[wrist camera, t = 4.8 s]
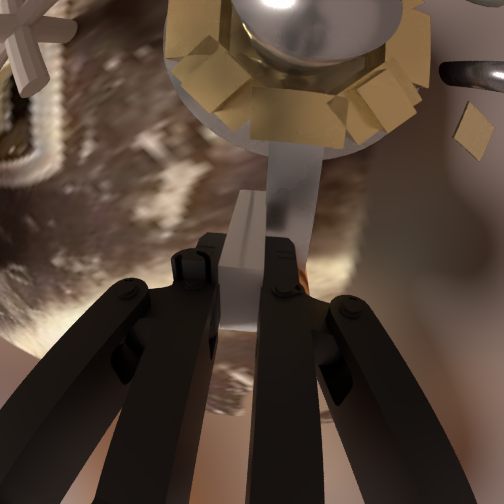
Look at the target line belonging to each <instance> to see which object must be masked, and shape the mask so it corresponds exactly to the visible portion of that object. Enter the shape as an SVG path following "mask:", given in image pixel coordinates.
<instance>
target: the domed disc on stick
mask: <svg viewBox="0 0 504 504" xmlns="http://www.w3.org/2000/svg"><path fill="white" fill-rule="evenodd" d="M423 3H424V1H423V0H403V13H402V19H401V22H400V25H399V27H398V29H397V30H396V32H395V33H394V35H393V36H392V37H391V38H390V39H389V40H388V41H387V42H386V43H385V44H383V45H381V46H380V47H378V48H377V49H374V50H372V51H370V52H368V53H365V67H364V68H363V69H361V70H360V71H358V72H357V73H356V74H354V75H353V76H351V77H350V78H348V79H347V80H345V81H344V82H342V83H341V84H340V85H338V86H337V87H335V88H334V89H333V90H331V91H330V92H328V93H327V94H323V93H316V92H308V91H300V90H290V89H279V88H266V87H265V86H264V85H263V84H262V83H261V82H260V81H259V80H258V79H257V78H256V77H255V76H254V75H253V74H252V73H251V72H250V71H249V70H248V69H247V68H246V67H245V66H244V65H243V64H242V63H241V62H239V61H238V60H237V59H236V58H235V57H234V56H233V55H232V54H231V53H230V34H231V18H232V6H234V5H233V3H232V1H231V0H169V4H168V14H167V26H166V41H165V59H169V60H172V61H176V62H179V63H178V64H177V65H176V66H175V67H174V68H173V70H172V71H171V73H172V74H173V75H174V76H175V77H177V78H178V79H179V80H180V81H181V82H182V84H181V85H180V86H181V87H182V88H183V89H184V90H185V91H186V92H187V93H189V94H190V95H191V96H192V97H193V98H194V99H195V100H196V101H197V102H198V103H199V104H200V105H201V106H202V107H203V108H204V109H205V110H206V111H207V112H208V113H209V114H212V113H215V114H216V115H217V116H218V117H219V118H220V119H221V120H222V121H223V122H224V123H225V124H226V125H227V126H228V127H229V128H230V129H231V130H232V131H233V132H235V131H236V130H237V129H238V128H239V127H241V126H242V125H243V124H244V123H245V122H246V121H248V120H249V119H250V118H251V120H250V140H263V141H270V144H269V158H268V173H267V187H266V201H265V206H266V231H265V236H273V237H285V238H289V239H290V240H291V241H292V242H293V243H294V244H295V250H296V258H297V259H296V260H297V265H298V273H299V281H300V284H301V285H303V286H304V289H305V291H306V294H308V295H309V287H308V279H307V272H306V262H307V257H308V251H309V246H310V240H311V234H312V228H313V222H314V216H315V210H316V203H317V197H318V190H319V183H320V176H321V168H322V161H323V153H324V147H330V148H337V149H343V147H344V139H345V137H346V138H348V139H349V140H351V141H352V142H354V143H355V144H357V145H358V146H359V145H360V144H362V143H363V142H364V141H366V140H367V139H369V138H370V137H371V136H373V135H374V134H375V133H377V132H378V131H383V132H385V133H387V134H388V133H390V132H391V131H392V130H394V129H395V128H396V127H398V126H399V125H401V124H402V123H403V122H405V121H406V120H407V119H409V118H410V117H412V116H413V115H414V114H416V113H417V112H416V110H415V108H414V107H413V106H415V105H416V104H417V103H419V102H420V101H422V99H421V97H420V95H419V94H418V92H417V90H416V89H415V88H429V77H430V58H431V22H430V15H427V14H425V13H423V12H420V11H418V10H416V9H413V8H414V7H416V6H418V5H421V4H423ZM309 296H310V295H309Z"/></svg>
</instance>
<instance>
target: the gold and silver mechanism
mask: <svg viewBox="0 0 504 504" xmlns="http://www.w3.org/2000/svg"><path fill="white" fill-rule="evenodd" d="M231 1H232V3H233V5H234V6H232V18H231V34H230V53H231V54H232V55H233V56H234V57H235V58H236V59H237V60H238V61H239V62H241V63H242V64H243V65H244V66H245V67H246V68H247V69H248V70H249V71H250V72H251V73H252V74H253V75H254V76H255V77H256V78H257V79H258V80H259V81H260V82H261V83H262V84H263V85H264V86H265V87H266V88H279V89H290V90H300V91H308V92H316V93H323V94H327V93H328V92H330V91H331V90H333V89H334V88H335V87H337V86H338V85H340V84H341V83H342V82H344V81H345V80H347V79H348V78H350V77H351V76H353V75H354V74H356V73H357V72H358V71H360V70H361V69H363V68H364V67H365V53H368V52H370V51H372V50H374V49H377V48H378V47H380V46H381V45H383V44H385V43H386V42H387V41H388V40H389V39H390V38H391V37H392V36H393V35H394V33H395V32H396V30H397V29H398V27H399V25H400V22H401V19H402V13H403V0H231ZM166 26H167V17H166V21H165V26H164V32H163V52H164V60H165V64H166V68H167V72H168V75H169V77H170V80H171V82H172V84H173V87H174V89H175V90H176V92H177V94H178V95H179V97H180V98H181V100H182V102H183V103H184V104H185V105H186V107H187V108H188V109H189V110H190V112H191V113H192V114H193V115H194V116H195V117H196V118H197V119H198V120H199V121H200V122H201V123H203V124H204V125H205V126H206V127H207V128H209V129H210V130H211V131H213V132H214V133H215V134H217V135H218V136H220V137H222V138H223V139H225V140H227V141H229V142H230V143H232V144H234V145H236V146H239V147H241V148H243V149H245V150H248V151H250V152H254V153H257V154H260V155H263V156H267V157H269V144H270V141H263V140H250V120H251V118H250V119H249V120H248V121H246V122H245V123H244V124H243V125H242V126H241V127H239V128H238V129H237V130H236V131H235V132H233V131H232V130H231V129H230V128H229V127H228V126H227V125H226V124H225V123H224V122H223V121H222V120H221V119H220V118H219V117H218V116H217V115H216V114H215V113H212V114H209V113H208V112H207V111H206V110H205V109H204V108H203V107H202V106H201V105H200V104H199V103H198V102H197V101H196V100H195V99H194V98H193V97H192V96H191V95H190V94H189V93H187V92H186V91H185V90H184V89H183V88H182V87H181V86H180V85H181V84H182V82H181V81H180V80H179V79H178V78H177V77H175V76H174V75H173V74H172V73H171V71H172V70H173V68H174V67H175V66H176V65H177V64H178V63H179V62H176V61H172V60H169V59H165V41H166ZM439 74H440V77H441V79H442V81H443V82H444V83H445V84H447V85H449V86H458V87H468V88H476V89H484V90H491V91H496V92H502V93H504V62H500V61H453V62H443V63H442V64H441V65H440V66H439ZM415 89H416V90H417V92H418V91H419V88H415ZM493 130H494V127H493V126H492V124H491V123H490V122H489V121H488V120H487V119H486V118H485V117H484V116H483V115H482V114H481V113H480V112H479V111H478V110H477V109H476V107H475V106H474V105H472V104H471V103H470V102H469V101H468V102H467V104H466V107H465V109H464V112H463V114H462V116H461V119H460V121H459V124H458V126H457V128H456V130H455V132H454V135H453V138H454V139H455V140H456V141H457V142H458V143H459V144H461V145H462V146H463V147H464V148H465V149H466V150H467V151H468V152H469V153H470V154H471V155H472V156H473V157H474V158H476V160H478V161H479V162H480V160H481V158H482V156H483V154H484V151H485V149H486V147H487V144H488V142H489V140H490V138H491V135H492V133H493ZM385 135H387V133H385V132H383V131H378V132H377V133H375V134H374V135H373V136H371V137H370V138H369V139H367V140H366V141H364V142H363V143H362V144H360V145H359V146H358V145H357V144H355V143H354V142H352V141H351V140H349V139H348V138H346V137H345V139H344V147H343V149H337V148H330V147H324V153H323V160H325V159H333V158H337V157H341V156H345V155H349V154H352V153H354V152H357V151H359V150H362V149H364V148H366V147H368V146H370V145H372V144H373V143H375V142H377V141H379V140H380V139H381V138H383V137H384V136H385Z"/></svg>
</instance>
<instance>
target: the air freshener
mask: <svg viewBox="0 0 504 504" xmlns="http://www.w3.org/2000/svg"><path fill="white" fill-rule="evenodd" d="M467 1H469V2H472V3H474V4H478V5H482V6H486V7H500V6H503V5H504V0H467Z"/></svg>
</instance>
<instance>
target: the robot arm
mask: <svg viewBox="0 0 504 504" xmlns="http://www.w3.org/2000/svg"><path fill="white" fill-rule="evenodd" d="M265 201H266V191H254V190H240V192H239V195H238V199H237V202H236V205H235V209H234V212H233V215H232V219H231V222H230V226H229V229H228V233H227V234H223V233H209V232H207V233H206V234H205V235H203V236H202V237H201V238H200V239H199V241H198V244H197V247H196V248H189V249H185V250H181V251H179V252H177V253H176V254H174V255H173V256H172V258H171V264H172V272H173V279H174V281H173V284H172V285H170V286H168V287H163V288H155V289H148V286H147V284H146V283H145V282H144V281H143V280H141V279H137V278H126V279H123V280H120V281H118V282H116V283H115V284H113V285H112V286H111V287H110V288H109V289H108V290H107V291H106V292H105V293H104V294H103V295H102V296H101V297H100V298H99V299H98V300H97V301H96V302H95V303H94V304H93V305H92V306H91V307H90V308H89V309H88V310H87V311H86V312H85V313H84V314H83V315H82V316H81V317H80V318H79V319H78V320H77V321H76V322H75V323H74V324H73V325H72V326H71V327H70V328H69V329H68V330H67V331H66V333H65V334H64V335H63V336H62V337H61V338H60V339H59V340H58V341H57V342H56V343H55V344H54V346H53V347H52V348H51V349H50V350H49V351H48V352H47V353H46V355H45V356H44V357H43V358H42V359H41V360H40V361H39V363H38V364H37V365H36V366H35V367H34V369H33V370H32V371H31V372H30V373H29V374H28V375H27V377H26V378H25V379H24V380H23V381H22V383H21V384H20V385H19V386H18V388H17V389H16V390H15V391H14V393H13V394H12V395H11V397H10V398H9V399H8V400H7V402H6V403H5V404H4V406H3V407H2V408H1V410H0V504H60V503H61V501H62V499H63V498H64V496H65V495H66V493H67V491H68V490H69V488H70V486H71V485H72V483H73V482H74V480H75V479H76V477H77V476H78V474H79V472H80V471H81V469H82V468H83V466H84V465H85V463H86V461H87V460H88V458H89V457H90V455H91V454H92V452H93V451H94V449H95V448H96V446H97V444H98V443H99V442H100V440H101V438H102V437H103V435H104V434H105V432H106V431H107V429H108V428H109V426H110V425H111V423H112V422H113V420H114V419H115V417H116V416H117V414H118V413H119V411H120V410H121V408H122V410H121V413H120V416H119V419H118V422H117V425H116V427H115V431H114V434H113V437H112V440H111V443H110V446H109V449H108V453H107V456H106V459H105V462H104V466H103V469H102V473H101V476H100V480H99V483H98V487H97V491H96V495H95V498H94V500H93V502H92V503H91V504H189V499H190V492H191V486H192V481H193V475H194V469H195V463H196V457H197V452H198V446H199V440H200V435H201V429H202V424H203V418H204V413H205V407H206V402H207V396H208V391H209V386H210V381H211V375H212V370H213V365H214V360H215V354H216V349H217V344H218V327H219V322H220V329H230V330H239V331H251V332H257V341H256V350H255V370H254V386H253V401H252V416H251V430H250V432H251V433H250V444H249V459H248V472H247V484H246V497H245V504H325V503H324V502H325V500H324V472H323V453H322V436H321V423H320V410H319V399H318V389H317V380H318V382H319V384H320V387H321V389H322V392H323V395H324V397H325V400H326V402H327V405H328V408H329V410H330V413H331V415H332V418H333V420H334V423H335V426H336V428H337V431H338V433H339V436H340V439H341V441H342V444H343V447H344V449H345V452H346V454H347V457H348V460H349V462H350V465H351V468H352V470H353V473H354V476H355V478H356V480H357V484H358V486H359V489H360V492H361V494H362V497H363V500H364V502H365V504H477V502H476V499H475V497H474V494H473V492H472V489H471V487H470V484H469V482H468V480H467V477H466V475H465V473H464V471H463V469H462V466H461V464H460V462H459V460H458V458H457V456H456V454H455V452H454V449H453V447H452V446H451V443H450V441H449V440H448V438H447V435H446V434H445V431H444V429H443V428H442V426H441V424H440V422H439V420H438V418H437V416H436V414H435V413H434V411H433V409H432V407H431V405H430V403H429V402H428V400H427V398H426V396H425V395H424V393H423V391H422V389H421V388H420V386H419V384H418V382H417V381H416V379H415V377H414V376H413V374H412V372H411V371H410V369H409V367H408V366H407V364H406V362H405V361H404V359H403V357H402V356H401V354H400V353H399V351H398V349H397V348H396V346H395V345H394V343H393V341H392V340H391V338H390V337H389V335H388V334H387V332H386V331H385V329H384V328H383V326H382V324H381V323H380V322H379V320H378V318H377V317H376V315H375V314H374V312H373V311H372V310H371V308H370V307H369V305H368V304H367V303H366V302H365V301H363V300H362V299H360V298H358V297H355V296H352V295H340V296H337V297H335V298H334V299H333V300H332V301H331V303H327V302H324V301H320V300H317V299H315V298H312V297H311V296H309V295H308V294H306V291H305V289H304V286H303V285H301V284H300V281H299V273H298V265H297V260H296V259H297V258H296V250H295V244H294V243H293V242H292V241H291V240H290V239H289V238H285V237H273V236H265V231H266V206H265ZM316 377H317V378H316Z"/></svg>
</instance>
